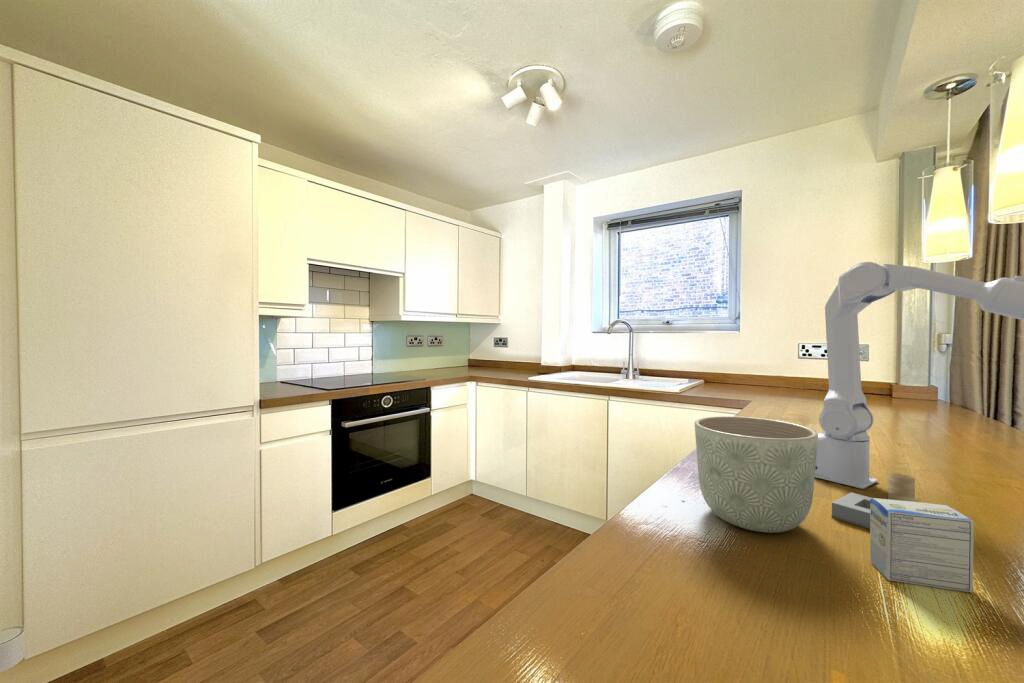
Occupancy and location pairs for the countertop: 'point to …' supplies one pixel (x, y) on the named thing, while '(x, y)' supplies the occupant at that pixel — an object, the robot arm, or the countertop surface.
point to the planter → (756, 471)
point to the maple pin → (901, 487)
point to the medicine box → (922, 544)
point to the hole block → (853, 509)
